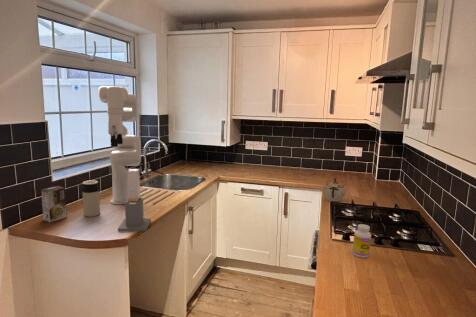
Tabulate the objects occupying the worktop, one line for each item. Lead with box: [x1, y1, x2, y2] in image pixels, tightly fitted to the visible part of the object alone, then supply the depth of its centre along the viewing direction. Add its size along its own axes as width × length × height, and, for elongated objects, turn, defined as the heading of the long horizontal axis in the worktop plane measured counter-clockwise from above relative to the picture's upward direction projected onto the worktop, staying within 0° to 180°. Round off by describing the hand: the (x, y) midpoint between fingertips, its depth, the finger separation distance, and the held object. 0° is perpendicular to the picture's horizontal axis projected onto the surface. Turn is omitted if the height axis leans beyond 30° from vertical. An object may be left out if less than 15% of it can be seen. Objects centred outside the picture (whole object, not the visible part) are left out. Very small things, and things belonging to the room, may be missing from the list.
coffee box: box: [40, 185, 68, 223], centre depth 161 cm, size 9×6×16 cm
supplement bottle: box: [352, 223, 372, 259], centre depth 134 cm, size 7×7×13 cm
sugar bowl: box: [322, 177, 347, 202], centre depth 209 cm, size 20×15×15 cm
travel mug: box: [81, 179, 101, 218], centre depth 169 cm, size 8×8×18 cm
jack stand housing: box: [117, 197, 151, 233], centre depth 155 cm, size 13×13×14 cm
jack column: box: [127, 168, 141, 202], centre depth 153 cm, size 5×5×20 cm
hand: (116, 145), depth 162 cm, fingers open, 9 cm apart
